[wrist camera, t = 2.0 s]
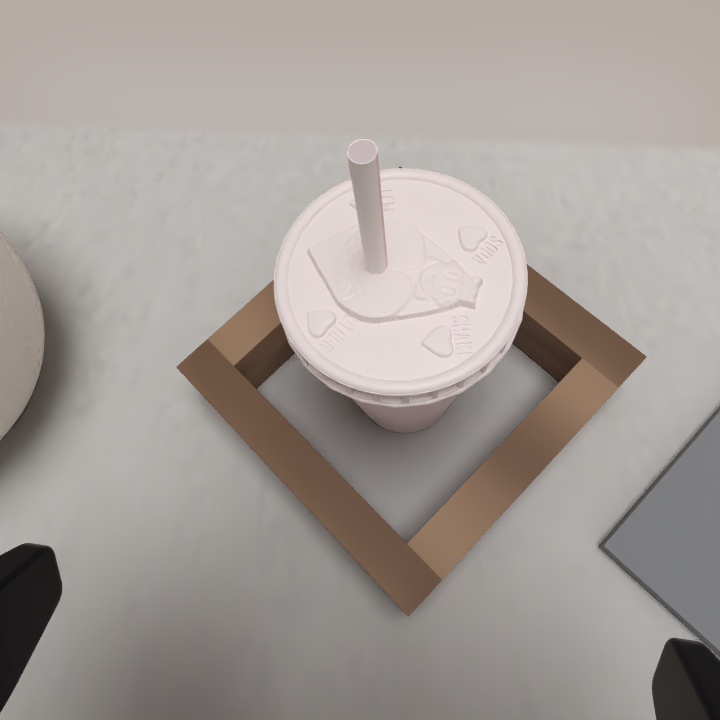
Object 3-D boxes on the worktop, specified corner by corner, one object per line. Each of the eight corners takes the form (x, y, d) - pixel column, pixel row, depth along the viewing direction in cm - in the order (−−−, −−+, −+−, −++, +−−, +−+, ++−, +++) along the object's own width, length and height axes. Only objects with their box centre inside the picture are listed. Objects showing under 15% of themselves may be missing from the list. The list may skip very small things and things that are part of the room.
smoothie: (354, 296, 25) (288, -1, 12) (504, 336, 24) (609, 53, 11) (302, 440, 24) (159, 269, 10) (463, 490, 22) (530, 369, 9)
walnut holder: (409, 611, 21) (408, 616, 18) (203, 390, 25) (176, 367, 22) (618, 383, 23) (646, 357, 20) (401, 209, 27) (400, 166, 24)
